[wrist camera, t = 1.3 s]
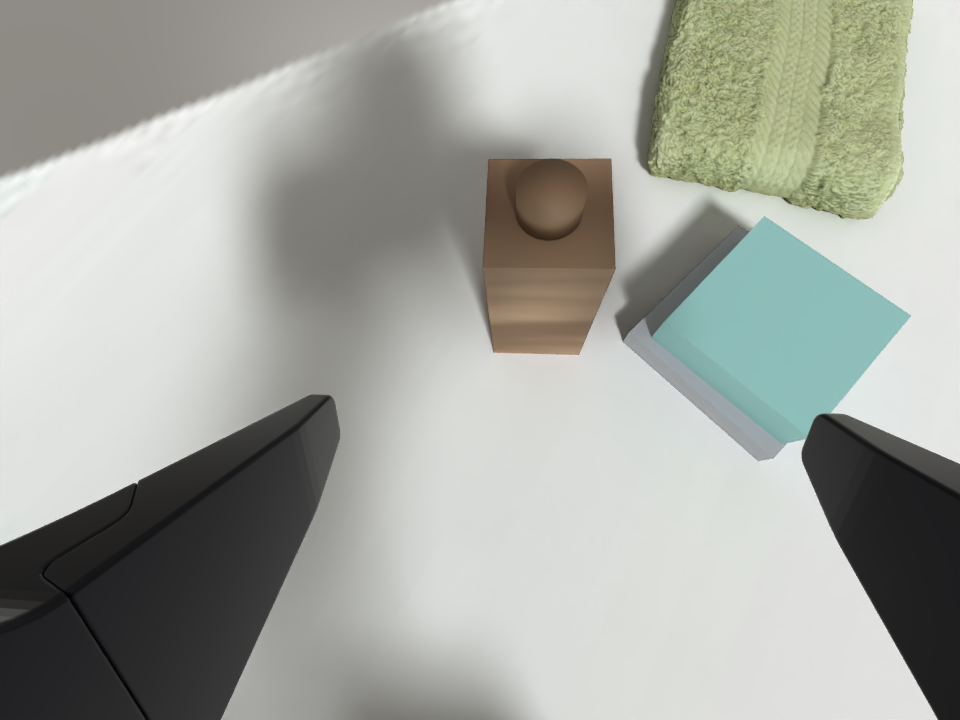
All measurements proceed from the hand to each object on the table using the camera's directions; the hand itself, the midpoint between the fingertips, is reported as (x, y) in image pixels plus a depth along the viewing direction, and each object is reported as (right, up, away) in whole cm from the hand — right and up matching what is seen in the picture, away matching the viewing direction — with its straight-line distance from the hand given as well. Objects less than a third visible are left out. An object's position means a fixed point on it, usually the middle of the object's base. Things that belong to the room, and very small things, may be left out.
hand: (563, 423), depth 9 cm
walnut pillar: (+1, +4, +15) cm, 15 cm away
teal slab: (+11, +2, +13) cm, 17 cm away
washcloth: (+15, +17, +19) cm, 30 cm away
